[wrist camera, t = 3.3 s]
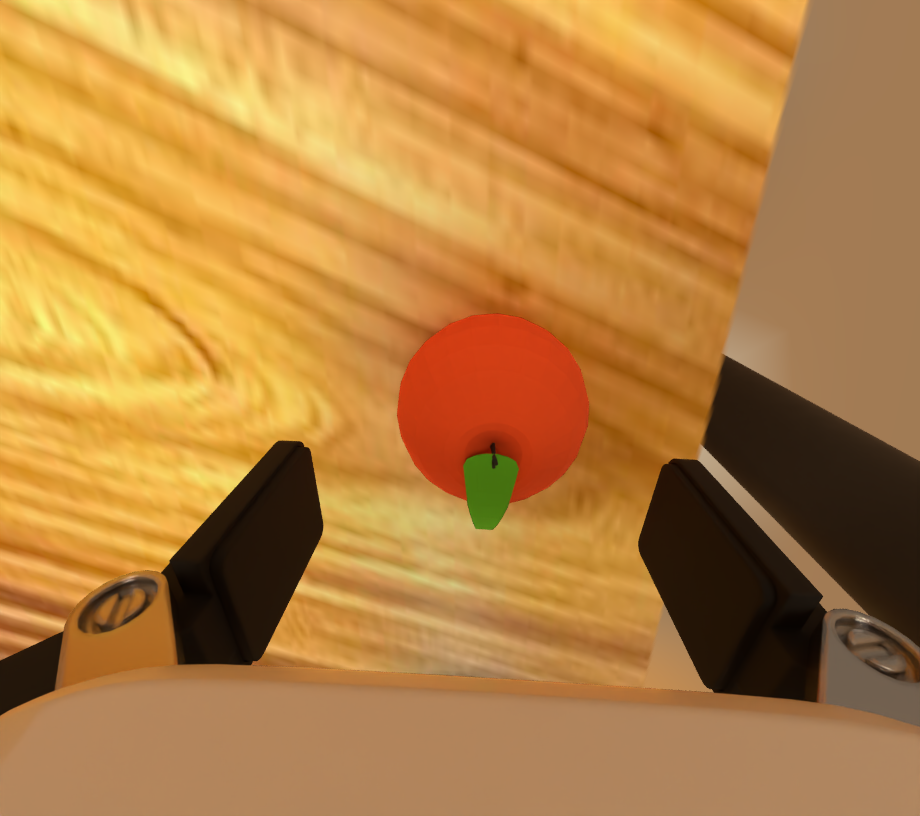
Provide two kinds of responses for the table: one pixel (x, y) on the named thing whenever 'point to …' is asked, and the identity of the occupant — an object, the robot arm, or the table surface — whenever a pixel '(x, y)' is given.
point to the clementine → (492, 412)
